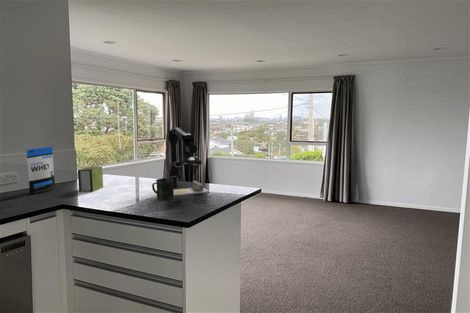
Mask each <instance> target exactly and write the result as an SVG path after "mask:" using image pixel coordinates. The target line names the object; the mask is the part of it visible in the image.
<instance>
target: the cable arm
mask: <svg viewBox="0 0 470 313" xmlns="http://www.w3.org/2000/svg"><path fill="white" fill-rule="evenodd" d="M191 188H195V189H196V190H198V191H203V188H204V184H202V183H200V182H199V181H197V180H192V181H191Z"/></svg>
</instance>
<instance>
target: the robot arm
mask: <svg viewBox="0 0 470 313" xmlns="http://www.w3.org/2000/svg"><path fill="white" fill-rule="evenodd" d="M165 135H166V136H165V138H166V142H167V143H168V144H169V155H170V156H169V158H170V162H169V163H170V165H169V166H168V169H167V173H166V178H170V179H174V181H173V188H175V187H176V188H177V187H179V185H178V179H180V177H183V170H182V168H183V166H185V165H192V173H193V174H192V175H193V176H195V175H196V172H197V169H198V167H199V166H201V165H202V160H201V159H199V157H198V156H193V154H195V153H196V152H197V151H198V147H197V145H196V143H195V140H194V136H193V135H192V134H191V133H189V132H185V131H184V130H182V129H181V128H180V127H172V128H171V129H170V130H169V131H168V132H167V133H166V134H165ZM179 140H180V142H181V146H182V154H181V156H182V161H178V158H177V157H178V156H177V154H178V153H177V144H178V142H179Z"/></svg>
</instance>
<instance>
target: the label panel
mask: <svg viewBox="0 0 470 313" xmlns="http://www.w3.org/2000/svg"><path fill="white" fill-rule="evenodd" d="M173 191H174V197H175V196H176V197H177V196H185V195H186V196H187V195H195V194H196V195H197V194H206V193H207V194H208V193H210V190H208V189H206V188H205V187H203V191H198V190H196V189H195V188H193V187H189V188H177V189H173Z"/></svg>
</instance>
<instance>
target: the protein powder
mask: <svg viewBox="0 0 470 313" xmlns="http://www.w3.org/2000/svg"><path fill="white" fill-rule="evenodd" d="M26 160H27V161H26V163H27V174H28V187H29V195H30V196H31V195H33V196H34V195H39V194H44V193H49V192H51V191H53V190H55V188H56V184H55V168H54V167H55V166H54V152H53V146H47V147H40V148H39V147H38V148H32V149H26Z"/></svg>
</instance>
